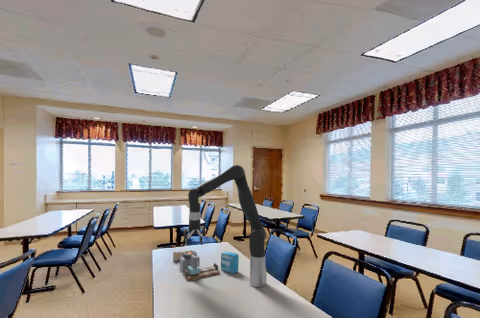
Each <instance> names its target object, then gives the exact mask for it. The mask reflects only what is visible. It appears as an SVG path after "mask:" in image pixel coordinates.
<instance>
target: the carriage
mask: <svg viewBox="0 0 480 318" xmlns="http://www.w3.org/2000/svg"><path fill="white" fill-rule="evenodd" d="M200 269H201V267H200V266H199V267H198V266H197V257H196V256H195V255H191V266H188V272H189V273H190V274H191V275H193V274H198V273H200Z"/></svg>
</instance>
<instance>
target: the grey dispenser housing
mask: <svg viewBox="0 0 480 318" xmlns="http://www.w3.org/2000/svg"><path fill="white" fill-rule="evenodd" d="M184 251H185V252H184V253H183V257H180V260H179V270H180V271H181V273H184V269H186V270H187V271H188V266H191V255H195V256H196V257H197V266H198V267H199V268H200V264H201V263H200V262H201V260H200V259H201V257H200V256H199V255H198V253H197V252H196V251H195V250H187V251H186V250H184ZM188 252H192V254H187V253H188Z"/></svg>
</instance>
